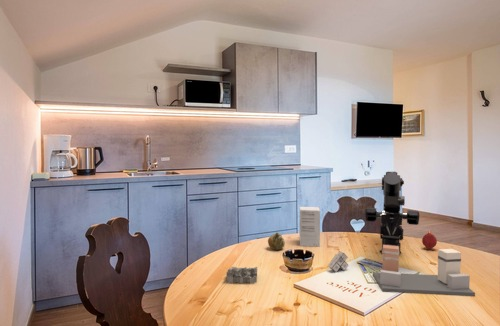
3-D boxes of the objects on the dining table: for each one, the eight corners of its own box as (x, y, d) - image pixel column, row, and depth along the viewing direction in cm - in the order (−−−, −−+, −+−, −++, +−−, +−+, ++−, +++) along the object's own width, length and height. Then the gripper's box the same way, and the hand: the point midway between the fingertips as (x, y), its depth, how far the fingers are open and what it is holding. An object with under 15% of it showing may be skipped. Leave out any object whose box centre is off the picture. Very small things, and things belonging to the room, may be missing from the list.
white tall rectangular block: (437, 279, 115) (438, 249, 114) (451, 278, 115) (452, 248, 115) (445, 283, 111) (446, 253, 110) (460, 282, 111) (461, 252, 111)
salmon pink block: (382, 272, 121) (382, 244, 120) (398, 274, 119) (399, 246, 118) (382, 276, 117) (382, 247, 116) (398, 279, 115) (399, 249, 114)
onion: (438, 251, 150) (438, 233, 149) (424, 250, 151) (424, 232, 150) (434, 247, 155) (434, 230, 155) (420, 247, 156) (420, 229, 156)
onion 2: (288, 248, 155) (288, 230, 155) (280, 252, 148) (280, 234, 148) (273, 245, 159) (273, 228, 159) (265, 250, 152) (265, 232, 152)
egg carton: (224, 284, 115) (224, 272, 115) (228, 275, 123) (228, 264, 122) (256, 285, 114) (256, 272, 114) (258, 276, 122) (258, 265, 121)
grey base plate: (372, 275, 122) (372, 261, 122) (453, 278, 119) (454, 264, 119) (382, 291, 108) (382, 275, 108) (474, 295, 105) (475, 279, 105)
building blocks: (340, 276, 126) (352, 259, 128) (332, 268, 124) (344, 250, 126) (331, 272, 131) (343, 255, 133) (323, 263, 129) (335, 246, 131)
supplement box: (299, 240, 168) (299, 206, 167) (318, 241, 166) (319, 206, 166) (299, 246, 158) (299, 209, 158) (320, 246, 157) (320, 210, 156)
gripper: (366, 187, 133) (363, 220, 124) (419, 189, 127) (421, 225, 117) (366, 204, 141) (364, 237, 131) (417, 207, 134) (419, 242, 124)
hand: (391, 235), depth 126 cm, fingers closed
